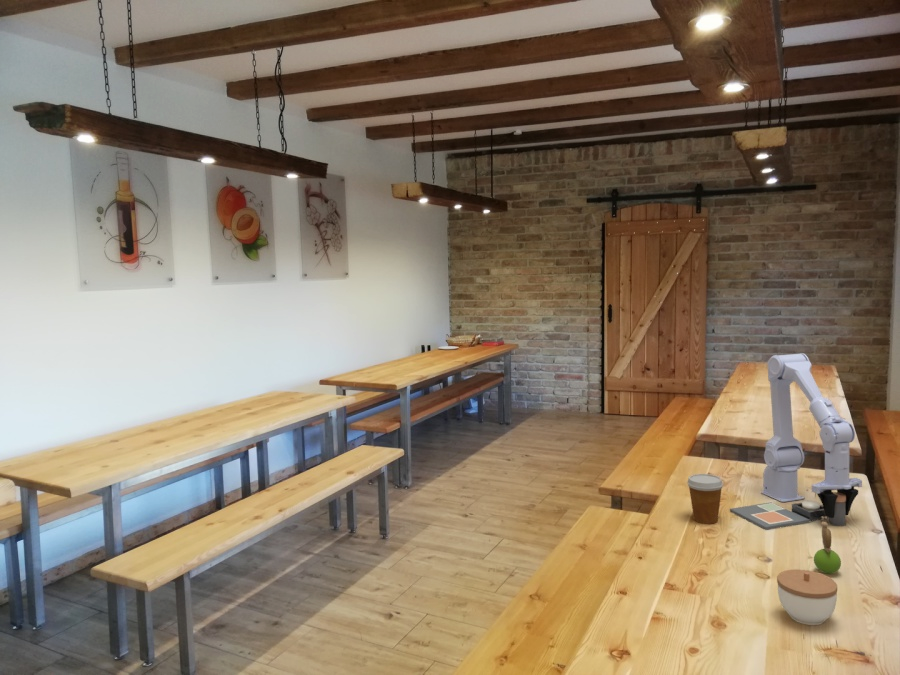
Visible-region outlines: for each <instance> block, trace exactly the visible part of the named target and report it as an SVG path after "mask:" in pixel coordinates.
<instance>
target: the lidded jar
mask: <svg viewBox="0 0 900 675" xmlns="http://www.w3.org/2000/svg"><path fill="white" fill-rule="evenodd" d="M776 583H777V594H778V598H779V601H780V604H781V607H782V608H783V609H784V611H785V612H786V613H787V614H788V615H789V617H790V619H792V620H793V621H795V622H797V623H799V624H802V625H806V626H820V625H822V624H823V623H824V622H825V621H826V620H828V619H829V618H830V617H832V615H833V614H834V612H835V608H836V605H837V597H838V594H837V593H838V583H837V582H836V581H835V580H834V579H833V578H831V577H829V576H828V575H827V574H826V575H825V574H823V573H821V572H817V571H812V570H809V569H788V570H784V571H781V572H780V573H778V575H777V577H776Z"/></svg>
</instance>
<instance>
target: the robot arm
mask: <svg viewBox="0 0 900 675" xmlns="http://www.w3.org/2000/svg"><path fill="white" fill-rule="evenodd" d="M812 365H813V364H812V363H811V361H810V358H809V357H808V356H807V355H806V353H802V352H800V353H793V354H791V353H790V354H780V355H779V354H774V355H772V356H771V357H769V359H768V360H767V367H766V368H767V377H768V382H769V386H770V399H771V400H770V402H771V414H772V416H771V417H772V429H773V436H772V437H771V438H769V439H768V440H767V441H766V442H765V450H764V452H763V459H764V462H765V464H766V465H767V466H765V467H764V470H763V472H762V474H763V475H762V476H763V479H762V481H763V488H762V489H763V490H761V491H760V493H761V494H763V495H765V496H767V497H769V498H771V499H775V500H776V501H779V502H780V503H785V502H786V503H787V502H792V501H800V500H804V499H805V497H804V496H802V495H800V494H798V493H799V492H798V489H799V488H798V482H799V481H798V470H800V469H801V466H802V465H803V464H804V462H805V453H804V451H803V448H802V443H801V441H800V440H799V439H797V438H795V437H794V427H793V415H792V414H793V413H792V402H791V401H792V400H791V399H792V398H791V385H792V383H793V382H795V383H796V385H797V386H798V387H799V388H800V390H801V391H802V393H803V394H804V395H805V397H806V398H807V399H808V401H809V403H810V404H809V407H808V409H809V411H810V413H811V414H812V416H813V419H815V421H816V423H817V424H818V426H819V428H820V431H819V437H820V439H821V442H822V448H823V450H824V480H822V481H820V482H817V483H815V484H811V493H814V494H816V495H817V497H818V498H819V500H820V503H821V505H822V506H823V508H824V511H825V515H826V516H828V517H830V518H833V517H834V509H835V502H836V499H837V497H838V495H836V494H833V492H834V491H837V492H839V493H843V494H845V495H846V516H849V513H850V511H851V507H852V505H853V502H854V500H855V499H856V497H857V496H858V495H859V490H858V489H856V488H855V487H857V488H861V487H863V480H862V479H861V478H858V477H854V478H850V443H852V442H853V441H854V439H855V437H856V432H855V428H854V426H853V424H852V423H851V422H849V421H848V420H846V419H845V418H843V417H841V415H840V414H839V412H838V411H837V409H836V408H835V406H834V404H833V402H832V401H831V400H830V399H829V398H827V397H823V394H822V392H821V390H820V388H819V386H818V385H817V382H816V380H815V378H814V377H813V374H812V368H813V366H812Z"/></svg>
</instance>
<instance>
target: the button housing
mask: <svg viewBox="0 0 900 675" xmlns="http://www.w3.org/2000/svg"><path fill="white" fill-rule="evenodd" d="M791 511H792V512H794V513H796V514H798V515H800V516H803V517H805V518H807V519H809V520H810V522H815V521H822V518H821V517H822V516H823V517H824V519H823V520H828V516H826V515H825V511H824V508H823V505H822V504H820V509H819V510H813V511H809V510H807V509H805V508H802V502H797V503H791ZM825 517H827V519H825Z"/></svg>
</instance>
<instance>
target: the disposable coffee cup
mask: <svg viewBox="0 0 900 675" xmlns="http://www.w3.org/2000/svg"><path fill="white" fill-rule="evenodd" d="M686 484H687V486H688V489H689V495H690V501H691V509H692V514H693V521H695V522H697V523H698V524H705V525H713V524H716V523H717V522H718V520H719V514H720V505H721V497H722V495H721V494H722V489H723V486H724V482H723V480H722V478H721V477H720V476H718V475H714V474H710V473H708V474H707V473H697V474H692V475H690V476H688V478H687V481H686Z"/></svg>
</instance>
